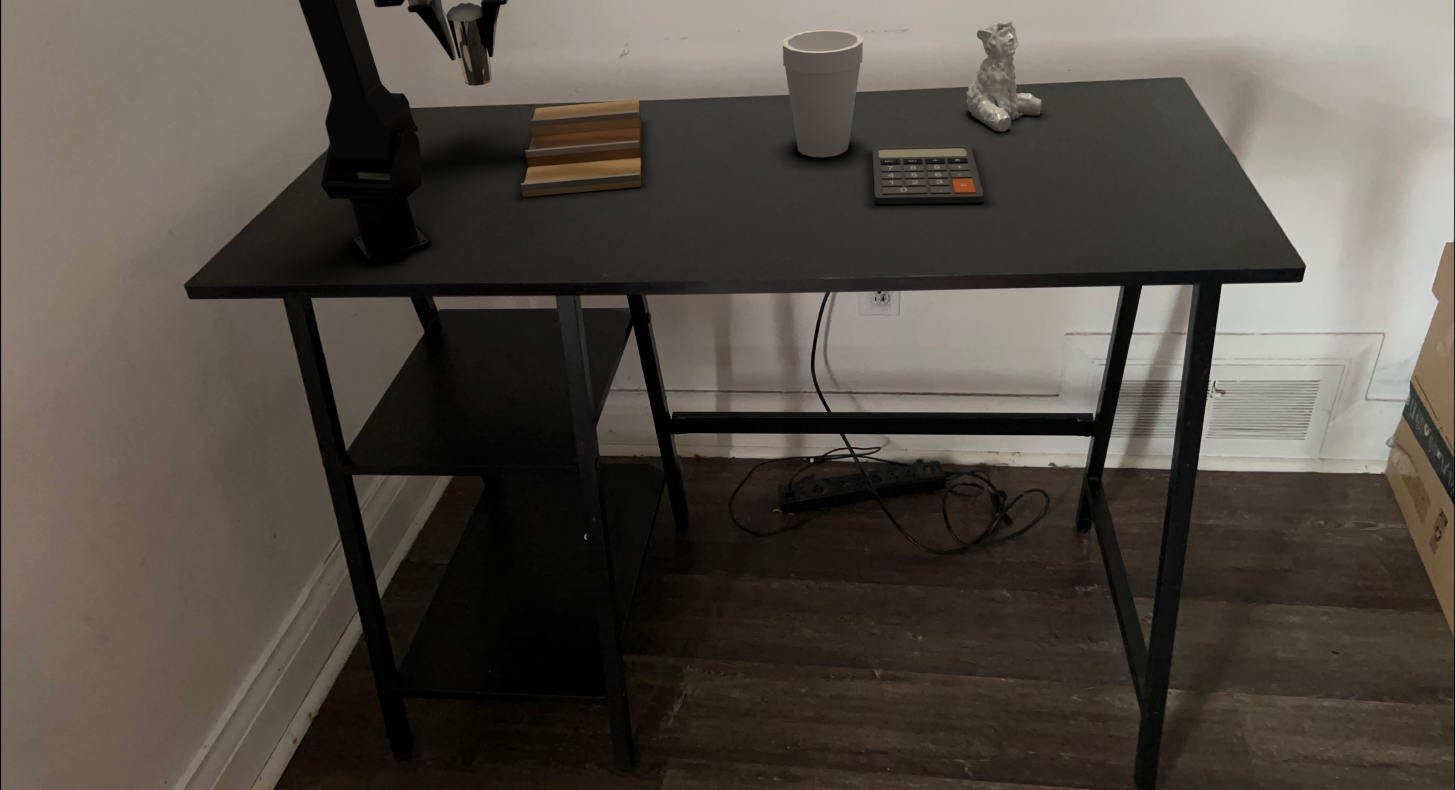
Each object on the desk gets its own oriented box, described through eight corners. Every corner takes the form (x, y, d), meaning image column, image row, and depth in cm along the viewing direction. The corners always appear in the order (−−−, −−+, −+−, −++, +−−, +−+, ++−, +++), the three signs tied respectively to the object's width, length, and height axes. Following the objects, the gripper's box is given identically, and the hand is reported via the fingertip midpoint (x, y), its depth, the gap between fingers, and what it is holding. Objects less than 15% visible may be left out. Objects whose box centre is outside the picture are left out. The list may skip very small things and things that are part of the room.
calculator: (875, 196, 104) (872, 144, 116) (874, 204, 105) (872, 151, 117) (984, 194, 103) (970, 142, 115) (983, 202, 103) (969, 149, 115)
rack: (641, 187, 113) (637, 154, 110) (522, 197, 113) (516, 165, 110) (641, 122, 131) (638, 93, 128) (539, 131, 130) (534, 102, 128)
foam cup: (874, 152, 117) (877, 44, 109) (805, 167, 114) (804, 58, 107) (838, 128, 124) (839, 25, 117) (773, 142, 122) (770, 37, 114)
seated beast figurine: (1001, 134, 119) (1012, 36, 112) (945, 119, 124) (952, 24, 117) (1044, 114, 124) (1057, 18, 117) (988, 100, 129) (998, 7, 122)
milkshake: (452, 80, 120) (434, -4, 114) (494, 74, 121) (479, -10, 115) (455, 90, 116) (437, 4, 110) (499, 84, 117) (483, -1, 112)
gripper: (531, -100, 114) (553, 33, 124) (375, -88, 114) (409, 46, 123) (522, -84, 105) (547, 59, 115) (353, -71, 105) (391, 72, 114)
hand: (472, 58), depth 117 cm, fingers closed on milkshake, 4 cm apart
